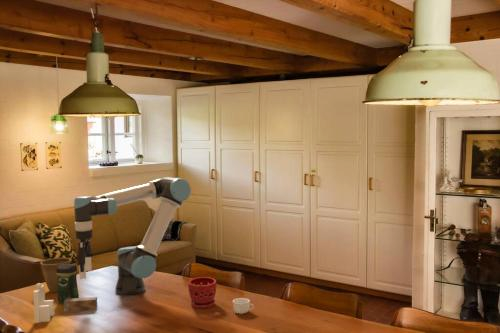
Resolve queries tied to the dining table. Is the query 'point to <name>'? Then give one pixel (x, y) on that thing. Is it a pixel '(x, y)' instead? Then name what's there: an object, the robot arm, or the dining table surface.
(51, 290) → the plant pot
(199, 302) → the plant pot
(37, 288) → the cream u-shaped bracket
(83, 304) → the rail
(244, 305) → the teacup
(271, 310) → the dining table surface
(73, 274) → the coffee jar
